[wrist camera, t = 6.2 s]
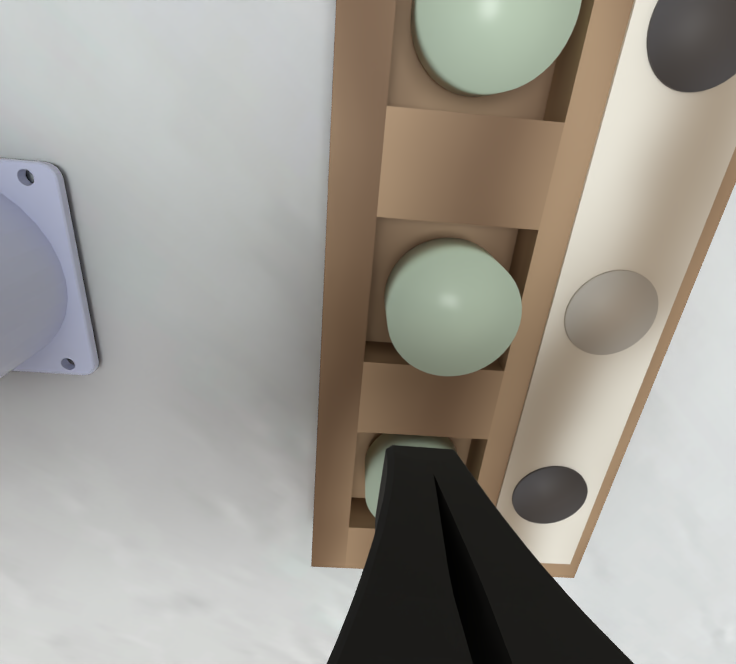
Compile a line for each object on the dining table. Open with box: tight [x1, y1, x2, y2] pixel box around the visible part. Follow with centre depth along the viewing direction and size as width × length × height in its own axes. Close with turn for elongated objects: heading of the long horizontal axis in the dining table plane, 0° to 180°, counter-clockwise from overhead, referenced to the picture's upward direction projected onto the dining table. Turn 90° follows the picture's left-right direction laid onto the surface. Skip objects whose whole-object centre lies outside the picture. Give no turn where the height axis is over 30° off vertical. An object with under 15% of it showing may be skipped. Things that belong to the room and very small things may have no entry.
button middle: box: [384, 238, 522, 376], centre depth 14 cm, size 4×4×2 cm
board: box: [311, 0, 736, 578], centre depth 16 cm, size 12×26×3 cm, turn 175°
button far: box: [365, 433, 457, 517], centre depth 18 cm, size 4×4×2 cm
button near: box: [411, 0, 582, 97], centre depth 12 cm, size 4×4×2 cm
